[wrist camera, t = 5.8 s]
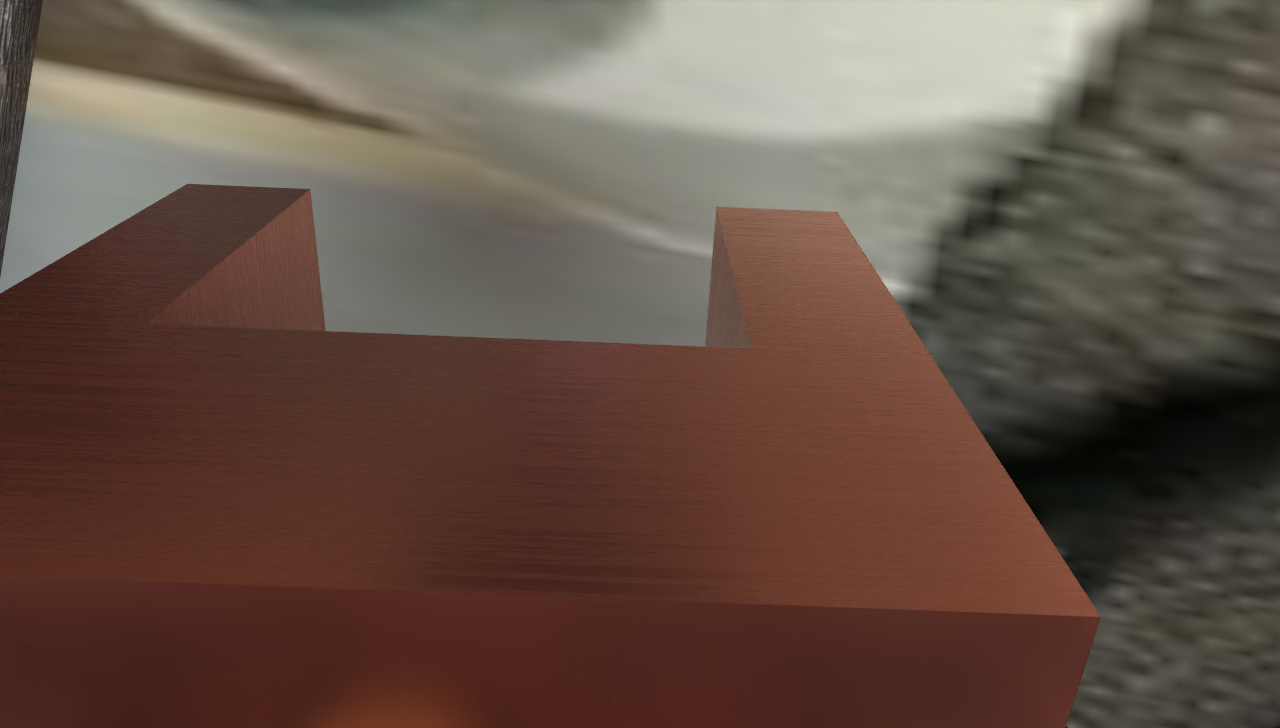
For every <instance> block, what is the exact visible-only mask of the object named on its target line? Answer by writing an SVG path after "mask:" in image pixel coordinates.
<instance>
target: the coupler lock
mask: <svg viewBox="0 0 1280 728" xmlns="http://www.w3.org/2000/svg"><path fill="white" fill-rule="evenodd" d="M1099 621H1100V615H1099V614H1098V612H1097V610H1096V609H1095V607H1094V606H1093V604H1092V603H1091V601H1090V600H1089V598H1088V597H1087V595H1086V594H1085V592H1084V590H1083V589H1082V587H1081V586H1080V584H1079V583H1078V581H1077V580H1076V578H1075V577H1074V575H1073V574H1072V572H1071V571H1070V569H1069V567H1068V566H1067V564H1066V563H1065V561H1064V560H1063V558H1062V557H1061V555H1060V554H1059V552H1058V551H1057V549H1056V547H1055V546H1054V544H1053V543H1052V541H1051V540H1050V538H1049V537H1048V535H1047V534H1046V532H1045V531H1044V529H1043V527H1042V526H1041V524H1040V523H1039V521H1038V520H1037V518H1036V517H1035V515H1034V514H1033V512H1032V511H1031V509H1030V507H1029V506H1028V504H1027V503H1026V501H1025V500H1024V498H1023V497H1022V495H1021V494H1020V492H1019V491H1018V489H1017V488H1016V486H1015V484H1014V483H1013V481H1012V480H1011V478H1010V477H1009V475H1008V474H1007V472H1006V471H1005V469H1004V468H1003V466H1002V464H1001V463H1000V461H999V460H998V458H997V457H996V455H995V454H994V452H993V451H992V449H991V448H990V446H989V444H988V443H987V441H986V440H985V438H984V437H983V435H982V434H981V432H980V431H979V429H978V428H977V426H976V424H975V423H974V421H973V420H972V418H971V417H970V415H969V414H968V412H967V411H966V409H965V408H964V406H963V405H962V403H961V401H960V400H959V398H958V397H957V395H956V394H955V392H954V391H953V389H952V388H951V386H950V385H949V383H948V381H947V380H946V378H945V377H944V375H943V374H942V372H941V371H940V369H939V368H938V366H937V365H936V363H935V361H934V360H933V358H932V357H931V355H930V354H929V352H928V351H927V349H926V348H925V346H924V345H923V343H922V342H921V340H920V338H919V337H918V335H917V334H916V332H915V331H914V329H913V328H912V326H911V325H910V323H909V322H908V320H907V318H906V317H905V315H904V314H903V312H902V311H901V309H900V308H899V306H898V305H897V303H896V302H895V300H894V298H893V297H892V295H891V294H890V292H889V291H888V289H887V288H886V286H885V285H884V283H883V282H882V280H881V278H880V277H879V275H878V274H877V272H876V271H875V269H874V268H873V266H872V265H871V263H870V262H869V260H868V259H867V257H866V255H865V254H864V252H863V251H862V249H861V248H860V246H859V245H858V243H857V242H856V240H855V239H854V237H853V235H852V234H851V232H850V231H849V229H848V228H847V226H846V225H845V223H844V222H843V220H842V219H841V217H840V215H839V214H838V212H821V211H798V210H775V209H752V208H729V207H716V219H715V232H714V244H713V257H712V269H711V282H710V295H709V307H708V320H707V332H706V345H705V347H694V346H670V345H646V344H621V343H597V342H573V341H549V340H524V339H500V338H476V337H452V336H427V335H403V334H379V333H355V332H330V331H325V322H324V313H323V304H322V294H321V285H320V276H319V266H318V257H317V248H316V238H315V229H314V220H313V210H312V201H311V192H310V189H292V188H269V187H246V186H223V185H200V184H186V185H185V186H183V187H181V188H180V189H178V190H176V191H175V192H173V193H171V194H169V195H168V196H166V197H164V198H163V199H161V200H159V201H157V202H156V203H154V204H152V205H151V206H149V207H147V208H146V209H144V210H142V211H140V212H139V213H137V214H135V215H134V216H132V217H130V218H129V219H127V220H125V221H123V222H122V223H120V224H118V225H117V226H115V227H113V228H111V229H110V230H108V231H106V232H105V233H103V234H101V235H100V236H98V237H96V238H94V239H93V240H91V241H89V242H88V243H86V244H84V245H83V246H81V247H79V248H77V249H76V250H74V251H72V252H71V253H69V254H67V255H65V256H64V257H62V258H60V259H59V260H57V261H55V262H54V263H52V264H50V265H48V266H47V267H45V268H43V269H42V270H40V271H38V272H36V273H35V274H33V275H31V276H30V277H28V278H26V279H25V280H23V281H21V282H19V283H18V284H16V285H14V286H13V287H11V288H9V289H8V290H6V291H4V292H2V293H1V294H0V728H1066V725H1067V721H1068V718H1069V715H1070V712H1071V709H1072V706H1073V703H1074V699H1075V696H1076V693H1077V690H1078V687H1079V684H1080V680H1081V677H1082V674H1083V671H1084V668H1085V665H1086V662H1087V658H1088V655H1089V652H1090V649H1091V646H1092V643H1093V640H1094V636H1095V633H1096V630H1097V627H1098V624H1099Z"/></svg>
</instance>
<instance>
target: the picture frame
mask: <svg viewBox="0 0 1280 728" xmlns="http://www.w3.org/2000/svg"><path fill="white" fill-rule="evenodd" d="M41 7H42V0H0V275H1V268H2V262H3V255H4V249H5V242H6V236H7V229H8V223H9V216H10V209H11V203H12V196H13V190H14V183H15V177H16V170H17V164H18V157H19V151H20V144H21V138H22V131H23V125H24V118H25V111H26V105H27V98H28V92H29V85H30V79H31V72H32V66H33V59H34V53H35V46H36V40H37V33H38V26H39V20H40V13H41Z"/></svg>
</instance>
